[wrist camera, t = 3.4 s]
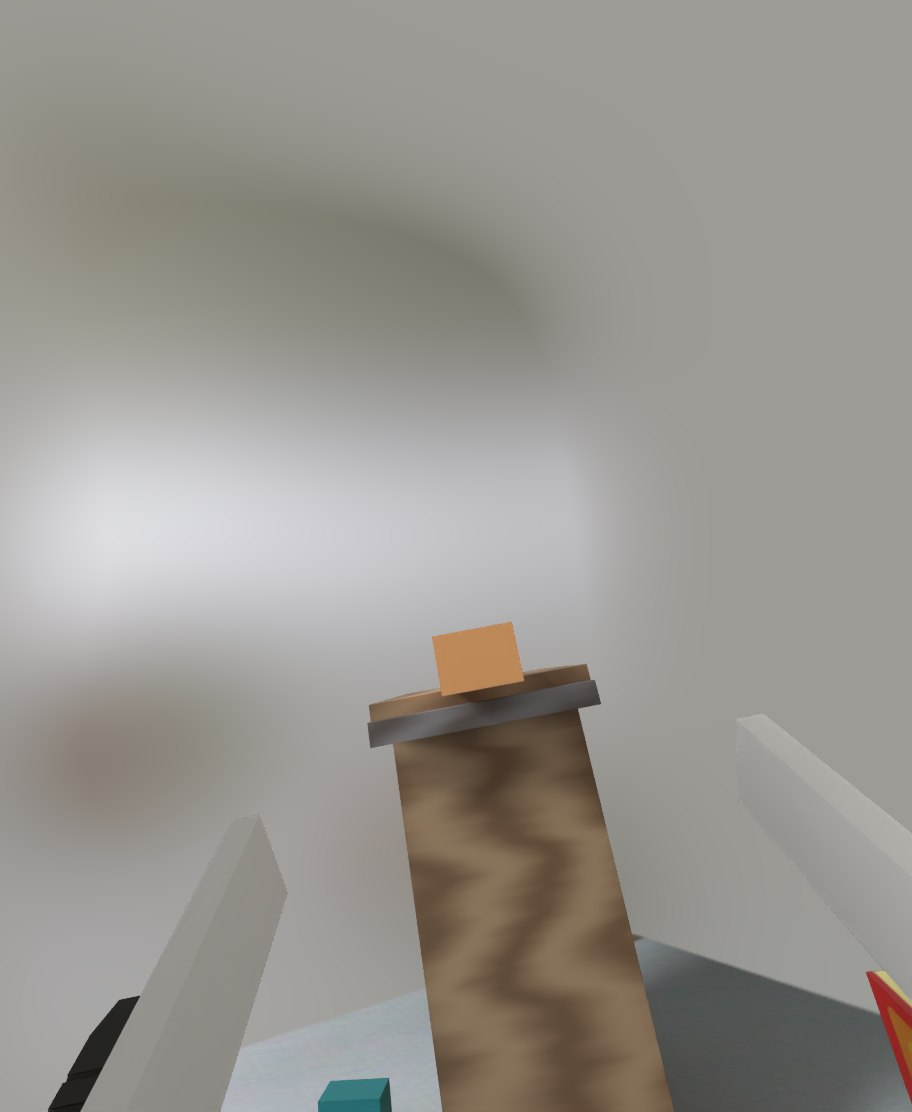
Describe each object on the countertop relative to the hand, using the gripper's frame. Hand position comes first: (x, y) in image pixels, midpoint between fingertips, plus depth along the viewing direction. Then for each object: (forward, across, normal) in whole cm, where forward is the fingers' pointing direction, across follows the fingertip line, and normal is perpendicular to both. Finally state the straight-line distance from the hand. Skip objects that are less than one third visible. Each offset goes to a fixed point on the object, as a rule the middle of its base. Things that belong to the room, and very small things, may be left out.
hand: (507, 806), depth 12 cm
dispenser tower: (+8, 0, -36) cm, 37 cm away
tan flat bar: (+18, 0, -7) cm, 19 cm away
